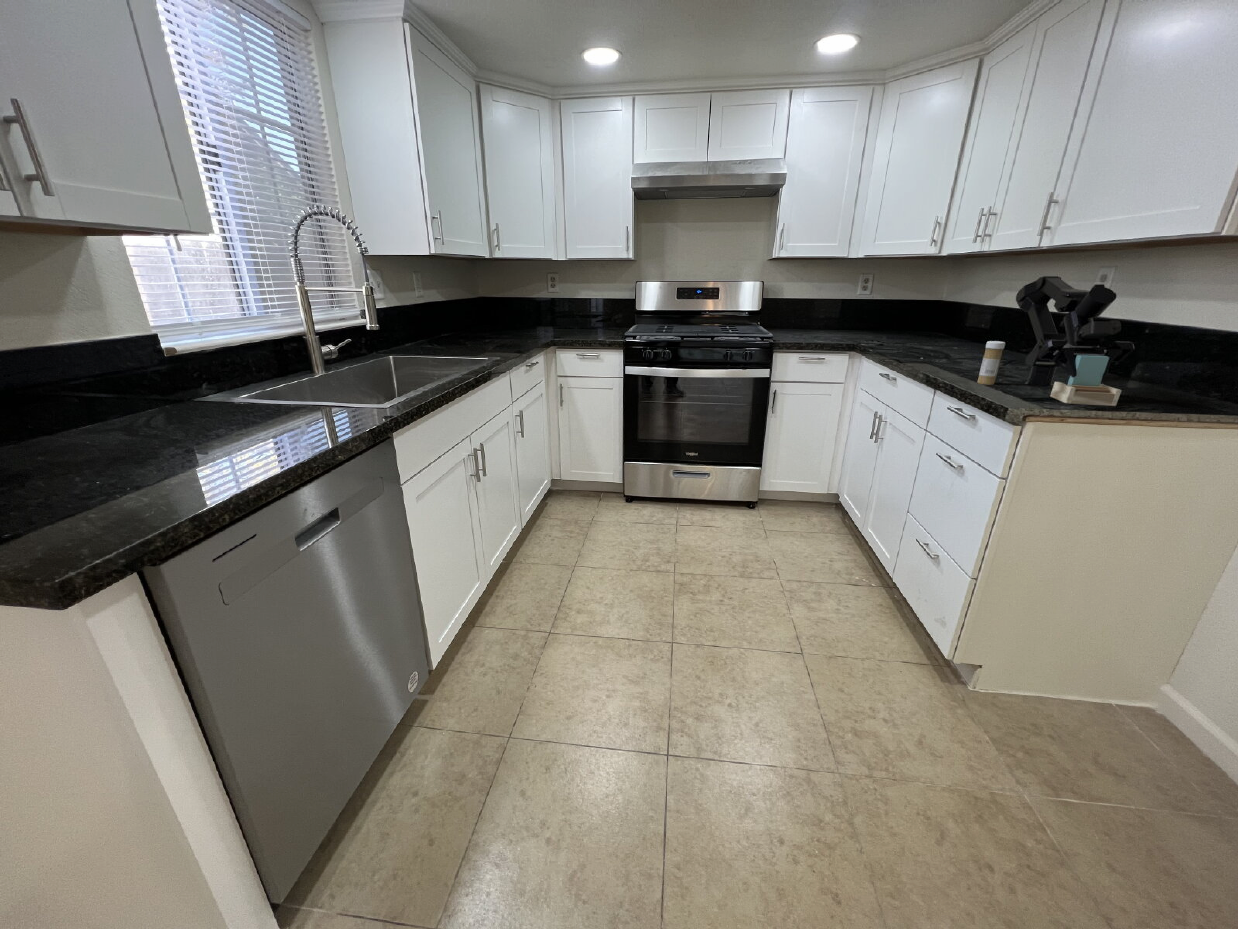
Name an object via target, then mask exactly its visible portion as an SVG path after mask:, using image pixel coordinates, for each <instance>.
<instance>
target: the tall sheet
mask: <svg viewBox="0 0 1238 929" xmlns="http://www.w3.org/2000/svg"><path fill="white" fill-rule="evenodd" d="M1108 360H1109V357H1107V356H1097V355H1076V357H1075V359H1074V361H1075V366H1076V371H1077V375H1076V376H1075V377H1072V376H1071V375H1069V378H1068V381H1067V384H1066V385H1082V386H1100V384H1102V383H1101V382H1102V381H1103V380H1102V377H1103V374H1104V371H1105V368H1106V366H1107V363H1108Z"/></svg>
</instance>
